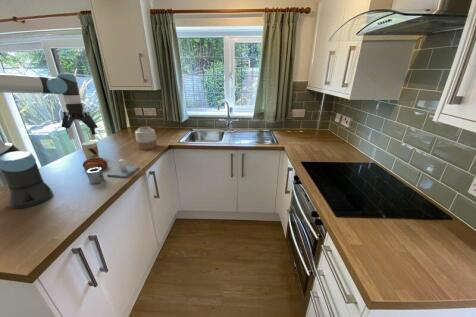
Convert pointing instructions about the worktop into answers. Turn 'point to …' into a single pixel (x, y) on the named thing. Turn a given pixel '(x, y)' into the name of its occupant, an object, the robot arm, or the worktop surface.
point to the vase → (145, 138)
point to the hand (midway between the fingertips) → (82, 139)
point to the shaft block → (123, 170)
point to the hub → (95, 175)
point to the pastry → (94, 163)
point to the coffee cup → (90, 149)
